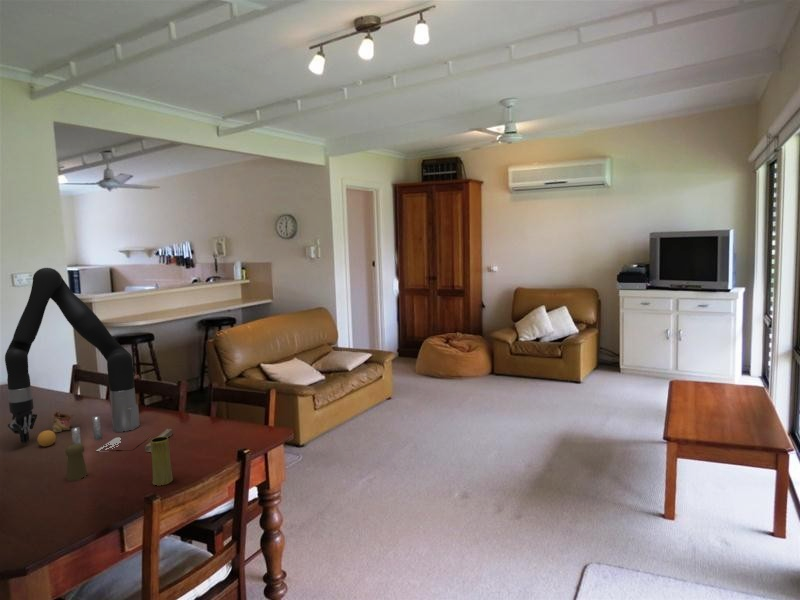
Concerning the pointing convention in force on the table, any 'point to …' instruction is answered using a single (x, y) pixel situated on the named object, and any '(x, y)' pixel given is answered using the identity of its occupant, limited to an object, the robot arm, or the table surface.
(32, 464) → the table surface
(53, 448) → the table surface
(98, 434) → the right post
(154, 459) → the vase
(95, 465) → the table surface
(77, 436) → the left post
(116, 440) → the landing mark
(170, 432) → the stopper wall
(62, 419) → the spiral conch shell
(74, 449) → the olive green pepper mill
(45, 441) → the ball
